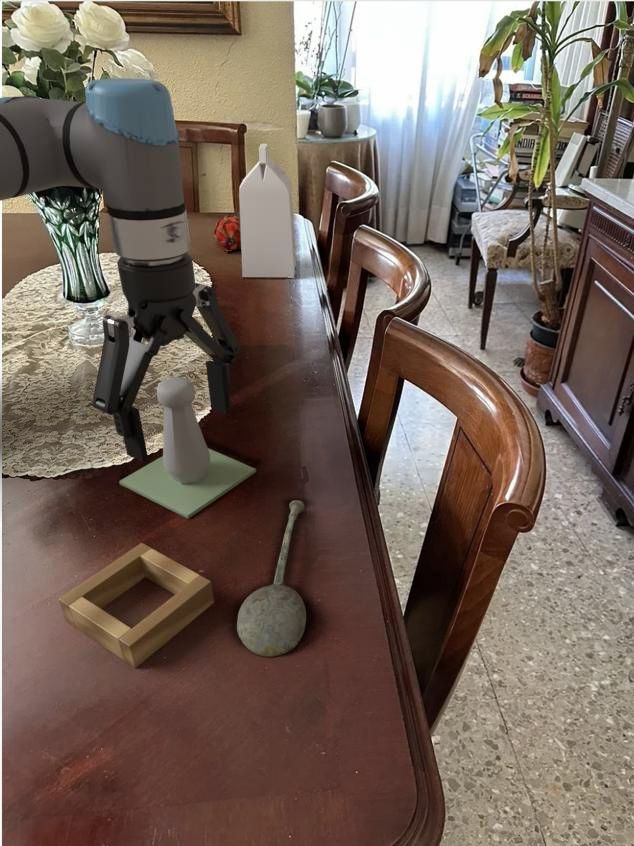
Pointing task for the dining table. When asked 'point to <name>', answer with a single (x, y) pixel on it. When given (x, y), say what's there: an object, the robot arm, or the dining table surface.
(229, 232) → the dragon fruit
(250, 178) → the milk
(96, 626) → the frame
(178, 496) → the mat
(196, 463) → the salt shaker
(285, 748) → the dining table surface
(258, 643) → the soupspoon
